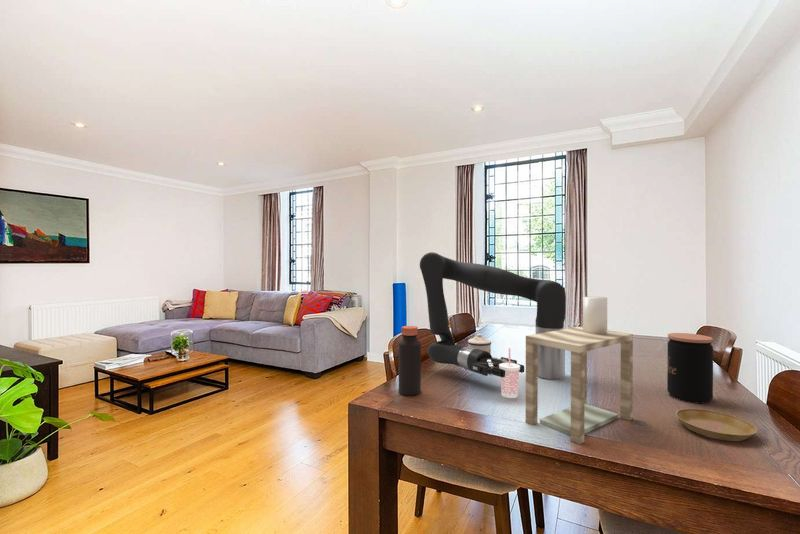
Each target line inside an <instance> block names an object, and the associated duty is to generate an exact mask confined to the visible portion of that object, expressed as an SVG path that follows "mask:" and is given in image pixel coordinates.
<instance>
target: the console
mask: <svg viewBox="0 0 800 534" xmlns="http://www.w3.org/2000/svg"><path fill="white" fill-rule="evenodd" d="M618 344H620V391H619V392H620V394H619V395H620V400H619V401H620V402H619V403H620V404H619V405H620V413H619V414H618V413H616V412H613V411H609V410H606V409H604V408H599V407H597V406H594V405H591V404H588V403H587V402H588V401H587V400H588V399H587V398H588V394H587V392H588V389H587V388H588V385H587V384H588V381H587V380H588V379H587V378H588V374H587V373H588V372H587V371H588V351H589V352H590V351H593V350H598V349H602V348H606V347H609V346H610V347H611V346H614V345H618ZM538 345H543V346H548V347H553V348H558V349H563V350H565V351H568V352H569V351H570V407H568V408H565V409H563V410H560V411H558V412H555V413H552V414H550V415H546V416H544V417H541V418H539V424H541V425H542V426H543V425H544V426H546V427H549V428H551V429H554V430H556V431H558V432H562V433H563V434H566V435H569V436H570V442H572V443H575V444H577V445H581V444H584V443H585V434H586V433H587V434H588V433H589V432H592V431H593V430H596V429H598V428H600V427H603V426H604V425H607V424H608V423H611V422H613V421H615V420H618V419H619V415H620V419H623V420H625V421H631V420H633V418H634V417H633V416H634V415H633V414H634V413H633V409H634V407H633V406H634V405H633V404H634V403H633V402H634V401H633V400H634V399H633V397H634V395H633V393H634V391H633V390H634V387H633V385H634V382H633V381H634V380H633V379H634V374H633V373H634V372H633V370H634V365H633V364H634V334H633V333H627V332H622V331H621V332H620V331H615V330H614V331H613V330H608V329H607V334H591V333H586V332H583V326H575V327H569V328H564V329H563V330H557V331H551V332H545V333H539V334H536V333H535V334H529V335H525V423H526V424H528V425H531V426H534V425H537V424H538V411H539V409H538V408H539V407H538V396H539V395H538V394H539V393H538V389H539V388H538V387H539V386H538V383H539V381H538V379H539V377H538Z"/></svg>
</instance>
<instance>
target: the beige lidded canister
mask: <svg viewBox="0 0 800 534" xmlns="http://www.w3.org/2000/svg"><path fill="white" fill-rule="evenodd" d="M491 344H492V342H491V340H490V339H487V338H486V337H483V334H481V333H477V334H476V336H474V337H473V338H469V339H468V340H467V347H472V348H476V349H480V350H484V351H487V352H489V353H490V354H491V353H492V352H491V351H492V350H491V349H492V348H491V346H492V345H491ZM491 355H492V354H491Z"/></svg>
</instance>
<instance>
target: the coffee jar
mask: <svg viewBox="0 0 800 534" xmlns="http://www.w3.org/2000/svg"><path fill="white" fill-rule="evenodd" d="M667 338H668V340H669V341H667V365H666V366H667V372H666V373H667V376H666V377H667V379H666V380H667V382H666V383H667V386H666V387H667V391H666V392H667V393H669V395H670V396H671V397H672V396H673V397H672V398H674V397H675V398H674V399H676V398H678V399H677V400H679V399H680V400H679V401H682V400H684V401H683V402H686V401H690V402H689V403H692V402H698V403H697V404H706V403H705V402H708V403H710V402H711V401H712V400H713V398H714V347H713V345H712V343H713V342H714V338H713V337H711V336H708V335H703V334H697V333H689V332H688V333H687V332H670V333H667ZM709 401H710V402H709ZM702 402H704V403H702Z"/></svg>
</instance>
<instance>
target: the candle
mask: <svg viewBox="0 0 800 534" xmlns="http://www.w3.org/2000/svg"><path fill="white" fill-rule="evenodd" d="M582 327H583V332H586V333H591V334H607V330H608V297H605V296H583V297H582Z"/></svg>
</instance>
